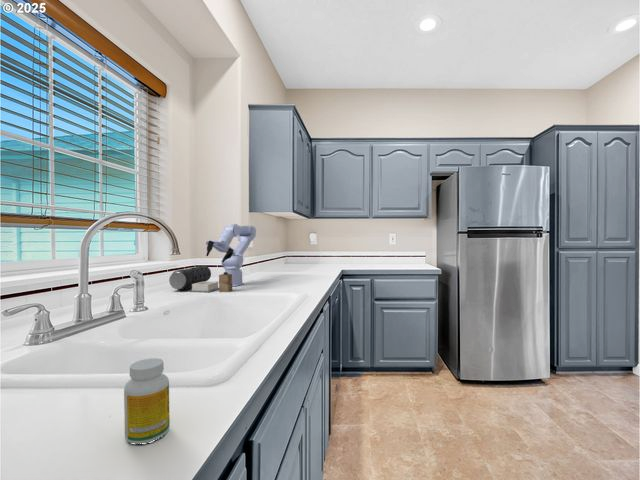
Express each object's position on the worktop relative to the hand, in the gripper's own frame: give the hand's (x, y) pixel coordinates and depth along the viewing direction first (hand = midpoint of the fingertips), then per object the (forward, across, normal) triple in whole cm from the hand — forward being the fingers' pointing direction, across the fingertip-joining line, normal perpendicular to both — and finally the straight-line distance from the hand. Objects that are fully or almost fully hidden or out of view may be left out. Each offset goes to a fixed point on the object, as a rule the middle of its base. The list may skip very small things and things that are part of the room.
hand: (215, 257), depth 158 cm
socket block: (+5, +1, +17) cm, 18 cm away
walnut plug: (+6, +10, +12) cm, 17 cm away
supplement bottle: (+100, +12, -59) cm, 117 cm away
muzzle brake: (-2, -6, +28) cm, 28 cm away
